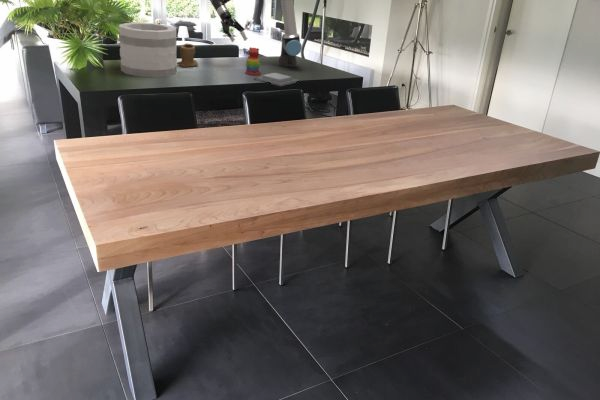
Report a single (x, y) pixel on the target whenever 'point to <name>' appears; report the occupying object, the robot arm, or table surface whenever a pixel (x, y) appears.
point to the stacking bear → (253, 62)
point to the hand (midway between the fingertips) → (240, 40)
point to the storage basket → (148, 49)
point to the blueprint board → (277, 79)
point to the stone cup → (187, 55)
